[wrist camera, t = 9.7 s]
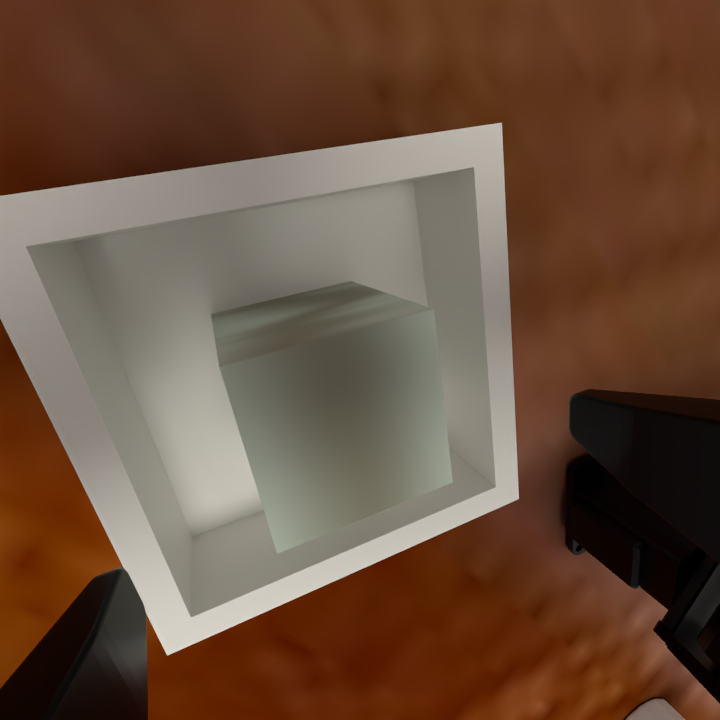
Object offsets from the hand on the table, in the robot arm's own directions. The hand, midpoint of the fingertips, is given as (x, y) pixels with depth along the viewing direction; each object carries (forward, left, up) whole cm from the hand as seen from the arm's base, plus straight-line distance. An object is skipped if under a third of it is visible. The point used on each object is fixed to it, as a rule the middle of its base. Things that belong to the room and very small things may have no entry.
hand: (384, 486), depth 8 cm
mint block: (0, 0, -8) cm, 8 cm away
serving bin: (0, 0, -9) cm, 9 cm away
